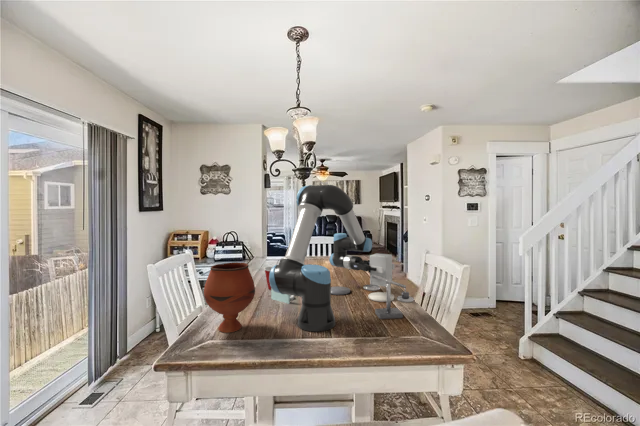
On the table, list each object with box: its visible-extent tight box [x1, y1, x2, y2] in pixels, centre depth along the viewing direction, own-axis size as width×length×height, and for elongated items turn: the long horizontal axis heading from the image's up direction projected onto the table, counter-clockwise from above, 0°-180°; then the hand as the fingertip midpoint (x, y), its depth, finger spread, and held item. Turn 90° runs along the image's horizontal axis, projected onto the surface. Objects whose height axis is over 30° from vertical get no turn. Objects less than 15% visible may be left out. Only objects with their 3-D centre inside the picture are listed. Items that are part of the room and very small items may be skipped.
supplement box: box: [369, 252, 393, 288], centre depth 157 cm, size 9×9×15 cm
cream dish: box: [367, 291, 395, 303], centre depth 157 cm, size 13×13×1 cm
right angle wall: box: [270, 288, 295, 305], centre depth 158 cm, size 12×12×8 cm
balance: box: [363, 274, 415, 320], centre depth 133 cm, size 22×7×18 cm, turn 96°
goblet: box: [203, 262, 256, 334], centre depth 120 cm, size 19×19×25 cm
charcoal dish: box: [331, 285, 351, 296], centre depth 169 cm, size 13×13×1 cm
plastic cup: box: [263, 266, 273, 291], centre depth 177 cm, size 11×11×12 cm
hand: (388, 268), depth 154 cm, fingers closed on supplement box, 10 cm apart
